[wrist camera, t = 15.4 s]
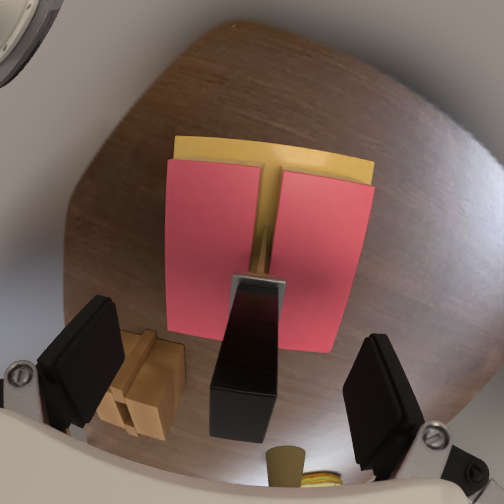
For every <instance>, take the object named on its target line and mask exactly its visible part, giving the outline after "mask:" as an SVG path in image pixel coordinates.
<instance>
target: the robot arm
mask: <svg viewBox="0 0 504 504" xmlns="http://www.w3.org/2000/svg"><path fill="white" fill-rule="evenodd" d="M38 4H39V0H0V63H1V62H2V61H3V60H4V59H5V58H6V57H7V56H8V55H9V54H10V53H11V51H12V50H13V49H14V48H15V46H16V45H17V43H18V42H19V40H20V39H21V37H22V36H23V34H24V32H25V31H26V29H27V27H28V25H29V24H30V22H31V20H32V18H33V16H34V14H35V11H36V9H37V6H38ZM124 360H125V352H124V347H123V343H122V338H121V333H120V328H119V323H118V317H117V311H116V306H115V303H114V302H112V300H111V298H109V297H105V296H101V295H96V296H95V297H94V298H93V299H92V300H91V301H90V302H89V303H88V304H87V305H86V306H85V307H84V308H83V309H82V310H81V311H80V312H79V313H78V314H77V315H76V316H75V317H74V318H73V320H72V321H71V322H70V323H69V324H68V325H67V326H66V327H65V328H64V329H63V330H62V332H61V333H60V334H59V335H58V336H57V337H56V338H55V339H54V341H53V342H52V343H51V344H50V345H49V346H48V347H47V349H46V350H45V351H44V352H43V353H42V354H41V356H40V357H39V358H38V359H37V362H38V363H37V364H36V366H35V365H34V364H33V363H31V362H30V361H26V360H20V361H16V362H14V363H12V364H11V365H10V366H9V367H8V368H7V369H6V371H5V374H4V379H0V504H504V489H503V488H502V487H501V486H500V485H499V484H498V483H497V482H496V481H495V480H494V479H493V478H491V480H489V469H488V467H487V465H486V464H485V462H483V461H482V460H481V459H478V458H477V457H475V456H473V455H471V454H469V453H467V452H465V451H463V450H461V449H459V448H458V447H456V446H454V445H452V443H453V436H452V433H451V431H450V429H449V428H448V427H447V426H446V425H445V424H443V423H442V422H439V421H432V420H431V421H428V422H425V421H424V418H423V415H422V412H421V410H420V407H419V405H418V402H417V400H416V398H415V395H414V393H413V391H412V388H411V386H410V384H409V381H408V379H407V377H406V375H405V372H404V370H403V368H402V366H401V364H400V361H399V359H398V357H397V355H396V353H395V351H394V349H393V347H392V345H391V343H390V340H389V338H388V336H387V335H386V334H371V335H370V336H369V337H366V338H365V339H364V342H363V344H362V346H361V349H360V351H359V353H358V355H357V358H356V360H355V362H354V364H353V367H352V369H351V371H350V373H349V375H348V377H347V379H346V381H345V383H344V386H343V397H344V402H345V406H346V411H347V416H348V421H349V427H350V432H351V437H352V443H353V448H354V454H355V460H356V463H357V464H360V467H361V471H363V470H371V469H373V473H374V477H373V478H372V480H371V482H369V483H363V484H353V485H342V486H328V487H265V486H251V485H241V484H232V483H225V482H218V481H211V480H206V479H200V478H195V477H190V476H185V475H181V474H176V473H172V472H168V471H164V470H160V469H157V468H153V467H150V466H146V465H143V464H140V463H137V462H134V461H131V460H128V459H125V458H122V457H119V456H116V455H114V454H111V453H108V452H106V451H103V450H101V449H98V448H96V447H93V446H91V445H89V444H87V443H84V442H82V441H79V440H77V439H75V438H73V437H71V435H70V431H69V426H70V424H71V423H72V424H74V425H76V426H78V427H80V428H83V427H84V426H85V424H86V423H89V422H90V421H91V419H92V417H93V416H94V414H95V412H96V410H97V408H98V406H99V405H100V403H101V401H102V399H103V397H104V396H105V394H106V392H107V390H108V388H109V387H110V385H111V383H112V381H113V380H114V378H115V376H116V374H117V373H118V371H119V369H120V368H121V366H122V364H123V362H124Z"/></svg>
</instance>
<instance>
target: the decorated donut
mask: <svg viewBox="0 0 504 504" xmlns="http://www.w3.org/2000/svg"><path fill="white" fill-rule="evenodd" d="M342 485H343V483H342V480H341V479H340V477H338V476H337V475H334V474H331V473H314V474H308V475H303V476H302V481H301V487H328V486H342Z"/></svg>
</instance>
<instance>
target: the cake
mask: <svg viewBox="0 0 504 504" xmlns="http://www.w3.org/2000/svg"><path fill="white" fill-rule="evenodd" d="M373 169H374V162H373V161H368V160H364V159H360V158H355V157H350V156H346V155H341V154H336V153H330V152H325V151H320V150H314V149H308V148H302V147H295V146H289V145H281V144H274V143H266V142H257V141H248V140H238V139H226V138H213V137H196V136H175V145H174V157H173V159H169V160H168V165H167V182H166V207H165V284H166V308H167V325H168V331H173V332H178V333H183V334H188V335H193V336H199V337H204V338H210V339H216V340H222V341H223V337H224V333H225V330H226V326H227V322H228V315H229V304H230V292H231V281H232V274H233V271H234V270H241V271H248V272H255V273H257V270H258V264H259V257H260V251H261V244H262V238H263V231H264V225H268V235H267V244H266V254H265V263H264V272H263V274H270V275H278V276H285V277H286V278H287V284H286V290H285V295H284V300H283V305H282V310H281V315H280V320H279V325H278V348H280V349H289V350H299V351H310V352H323V353H330V351H331V349H332V346H333V343H334V340H335V337H336V334H337V331H338V328H339V325H340V322H341V319H342V316H343V313H344V310H345V307H346V304H347V300H348V297H349V294H350V290H351V287H352V284H353V280H354V276H355V273H356V269H357V266H358V262H359V258H360V254H361V250H362V246H363V242H364V238H365V234H366V229H367V225H368V220H369V216H370V211H371V206H372V201H373V196H374V191H375V187H374V186H371V181H372V175H373Z"/></svg>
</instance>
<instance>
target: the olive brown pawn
mask: <svg viewBox="0 0 504 504" xmlns="http://www.w3.org/2000/svg"><path fill="white" fill-rule="evenodd" d="M304 461H305V451H304V450H303V449H301V448H299V447H294V446H280V447H275V448H272V449H270V450H268V451H267V452H266V462H267V472H268V483H269V487H301V481H302V475H303V468H304Z"/></svg>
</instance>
